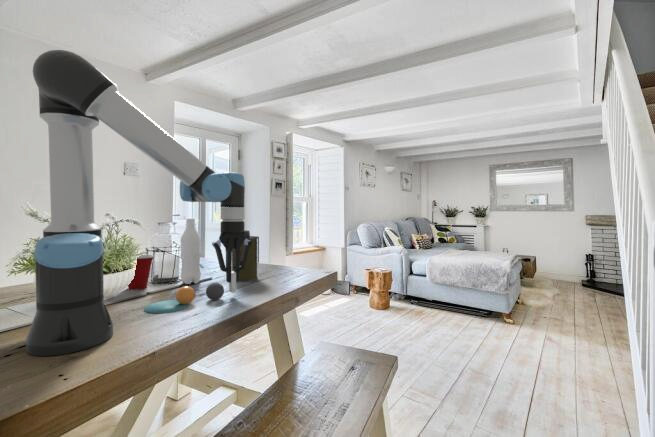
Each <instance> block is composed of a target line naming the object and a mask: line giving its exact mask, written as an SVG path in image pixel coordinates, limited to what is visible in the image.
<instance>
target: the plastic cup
mask: <svg viewBox="0 0 655 437" xmlns="http://www.w3.org/2000/svg"><path fill="white" fill-rule="evenodd" d="M140 255H141V256H139V257H137V265H136V270H135V276H134V279H133V280H132V281H131V283H130V284H129V285H128V284H127V288H128V290H131V289H132V290H135V291H137V290H144V289H146V288H147V287H148V283H149V277H150V272H151V268H152V267H151V266H152V264H153V260H154V258H155V255H154V254H153V255H152V254H140ZM136 289H137V290H136Z"/></svg>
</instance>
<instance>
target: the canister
mask: <svg viewBox="0 0 655 437" xmlns="http://www.w3.org/2000/svg"><path fill="white" fill-rule="evenodd" d="M244 234H245V236H246V239H248V240H249V241H252V245H251V246H250V248H249V252H248V256H247V260H246V265H245V269H244V270H240V272H239V281H237V282H236V283H238V282H239V283H245V282H253V281H254V282H255V281H257V279H258V264H259V263H260V237H259V236H257V235H256V236H255V235H251V234H250V230H244ZM243 247H244V242H243V244H242V245H241V247H240V252H239V264H240V260H241V256H242V252H243ZM232 271H234V251H233V249H232Z"/></svg>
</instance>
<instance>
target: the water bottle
mask: <svg viewBox="0 0 655 437" xmlns="http://www.w3.org/2000/svg"><path fill="white" fill-rule="evenodd" d="M201 241H202V240H201V236H200V234H199V232H198V230H197V229H196V219H195V218H186V223H185V230H184V232H182V235H181V237H180V259H181V272H180V280H181V283H182V284H184V283H185V285H188V284H189V285H191V284H192V283H193V284H198V283H199V282H200V279H201V277H202V272H201V267H200V261H201V257H202V256H201V255H202V254H201Z"/></svg>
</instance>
